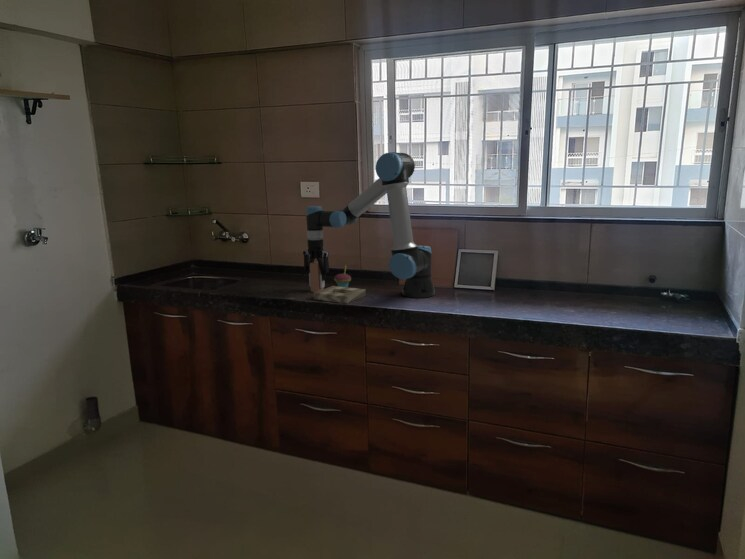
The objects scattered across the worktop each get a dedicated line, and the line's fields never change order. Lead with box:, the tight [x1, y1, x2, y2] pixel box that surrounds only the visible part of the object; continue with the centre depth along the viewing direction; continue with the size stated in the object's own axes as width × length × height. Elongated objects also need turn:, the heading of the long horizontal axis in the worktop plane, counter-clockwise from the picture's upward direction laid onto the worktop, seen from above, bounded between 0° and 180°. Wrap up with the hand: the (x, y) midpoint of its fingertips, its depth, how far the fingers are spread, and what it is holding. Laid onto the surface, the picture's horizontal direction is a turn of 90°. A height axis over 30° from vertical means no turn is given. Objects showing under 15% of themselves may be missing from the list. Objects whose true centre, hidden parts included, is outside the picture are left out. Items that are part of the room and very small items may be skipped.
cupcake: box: [333, 264, 352, 288], centre depth 259 cm, size 9×8×12 cm
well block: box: [313, 285, 367, 304], centre depth 240 cm, size 18×16×3 cm
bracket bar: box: [310, 261, 325, 293], centre depth 252 cm, size 4×4×14 cm
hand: (317, 286), depth 253 cm, fingers open, 6 cm apart
